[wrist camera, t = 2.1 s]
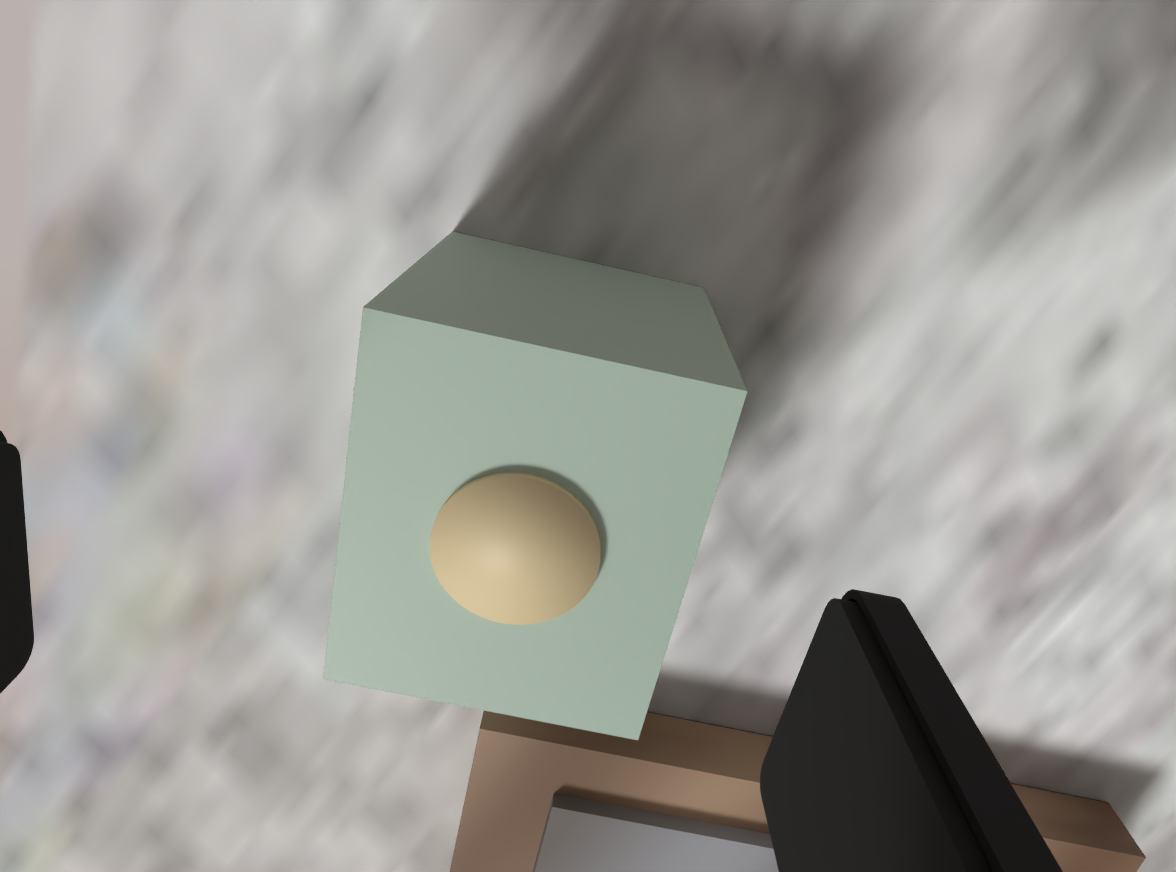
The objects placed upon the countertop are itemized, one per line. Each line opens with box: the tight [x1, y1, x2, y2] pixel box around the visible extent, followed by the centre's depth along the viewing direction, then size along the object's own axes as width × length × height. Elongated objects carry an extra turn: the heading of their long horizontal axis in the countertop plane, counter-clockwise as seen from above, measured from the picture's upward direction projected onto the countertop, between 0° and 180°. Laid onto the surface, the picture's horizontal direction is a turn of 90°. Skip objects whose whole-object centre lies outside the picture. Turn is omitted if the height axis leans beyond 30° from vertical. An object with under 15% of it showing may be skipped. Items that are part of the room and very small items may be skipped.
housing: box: [323, 232, 748, 740], centre depth 14 cm, size 5×6×6 cm
